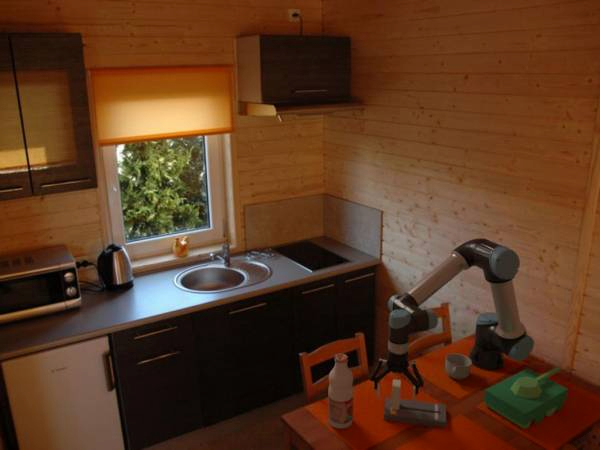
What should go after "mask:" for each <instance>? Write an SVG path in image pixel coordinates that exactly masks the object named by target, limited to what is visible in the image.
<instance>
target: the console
mask: <svg viewBox="0 0 600 450" xmlns="http://www.w3.org/2000/svg"><path fill="white" fill-rule="evenodd" d="M391 403H392V397H388V396H386V398H385V403H384V411H383V420H384V421H389V422H398V423H405V424H413V425H420V426H421V425H422V426H427V427H434V428H442V429H446V427H447V408H446V406H447V405H446V404H442V403H434V402H427V401H418V400H415V403H413V399H403V398H400V406H399V410H394V409H391Z"/></svg>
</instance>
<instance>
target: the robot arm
mask: <svg viewBox="0 0 600 450" xmlns="http://www.w3.org/2000/svg"><path fill="white" fill-rule="evenodd" d="M520 266H521V262H520V257H519V255H518V253H517V252H515V250H513V249H511V248H509V247H508V246H503V244H499V243H496V242H494V241H492V240H489V239H487V238H484V237H483V238H482V237H481V238H480V237H479V238H473V239H469V240H467V241H465V242H464V243H462V244H460V245H459V246H457V247H455V248H454V249H453V250H452V251H451V252H450V255H449V256H448V257H447V258H446V259H444V260H443V261H442V262H441V263H440V264H439V265H438V266H436V267H435V268H433V270H431V271H430V272H428V274H427V275H426V276H424V277H423V278H421V280H419V281H417V283H416V284H414V285H413V286H412V287H410V288H409V289H408V290H407V291H406V292H405V293H404V292H403V294H402V295H400V294H393V295H391V297H390V298H389V300H388V302H387V307H388V309H389V311H390V313H389V317H388V320H389V321H388V340H387V359H383V358H382V357H380V358H379V361H378V364H377V365H376V367H375V368H374V370H373V371H372V373H371V375H370V377H369V381H371V382H373V384H374V385H373V386H374V387H373V389H374V390H376V399H380V392H381V390H380V389H381V388H380V387H381V386H380V385H381V380H382V379H383V378H385V376H387V375H388V374H390V373H391V372H392V373H395V374H397V373H398V374H403V375H404V376H406V378H407V379H408V380H409V382H410V383H412V385H413V389H412V391H413V393H412V401H413V403H415V401H416V395H417V396H418V395H419V390H420V388H424V386H425V385H424V384H425V383H424V379H423V378H422V376H421V373H420V371H419V369H418V367H417V362H416V361H412V362H409V345H410V336H411V335H414V334H419V333H422V332H428V331H430V330H433V329H436V327H437V326H438V324H439V323H438V321H439V318H438V315H437V313H436V312H435V311H434V309H430V308H427V309H421V308H420V306H421V305H422V304H424V303H425V302H426V301H427V300H429V299H430V298H431V297H433V295H435V294H436V293H437V292H439V290H441V289H442V288H443V287H444V286H445V285H447V284H448V283H450V281H452V280H454V278H455V277H456V276H458V275H459V274H460V273H462V272H463V271H468V270H469V269H470V268H472V267H478V268H479V269H481V270H482V272H483V276H484V279H485V281H486V282H488V283H489V285H490V289H491V295H492V299H493V304H494V308H495V309H494V310H495V312H492V311H489V312H488V311H486V312H482V313H479V314H478V316H477V317H476V322H475V334H474V335H475V336H474V344H473V346H472V348H471V350H470V352H469V357H468V358H470V359H471V361H472V365H473V366H475V367H477V368H479V369H482V370H487V371H497V370H500V369H502V368H503V367H504V366H505V362H506V361H505V356H507V357H509V358H510V359H512V360H514V361H517V362H518V361H519V362H520V361H523V360H525V359H526V358H527V357H528V356H530V354H531V353H532V351H533V349H534V347H535V340H534V338H533V337H532V336H530V335H528V333H527V331H526V326H525V324H524V323H523V322H522V321H521V319H520V314H519V308H518V304H517V298H516V292H515V288H514V283H513V282H514V281H513V280H514V279H515V277H516V275H517V273H519V268H520ZM504 354H505V355H504ZM384 365H386V367H385V368H384V369H383V370H382V371H381V372H380V370H381V369H382V366H383V367H384ZM408 368H410V369H411V370H412V372H413V374H414V375H413V374H412V373H411V371H410V370H409V369H408ZM379 372H380V373H379ZM377 374H378V375H377Z"/></svg>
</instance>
